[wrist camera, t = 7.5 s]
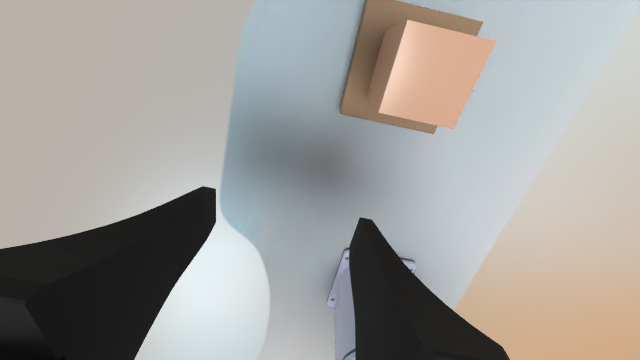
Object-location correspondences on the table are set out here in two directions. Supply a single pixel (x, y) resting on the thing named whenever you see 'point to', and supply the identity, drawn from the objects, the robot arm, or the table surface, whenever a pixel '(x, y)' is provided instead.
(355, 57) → the plinth
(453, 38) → the block
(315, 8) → the table surface
